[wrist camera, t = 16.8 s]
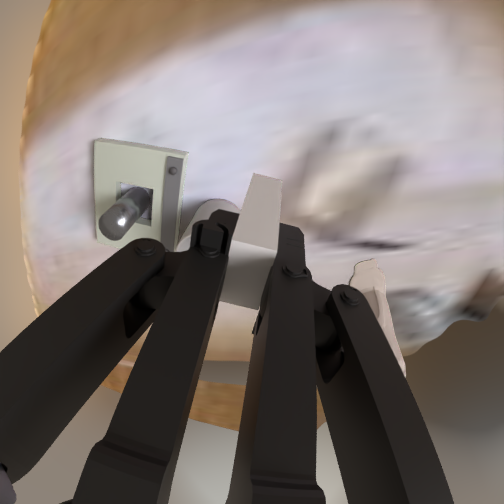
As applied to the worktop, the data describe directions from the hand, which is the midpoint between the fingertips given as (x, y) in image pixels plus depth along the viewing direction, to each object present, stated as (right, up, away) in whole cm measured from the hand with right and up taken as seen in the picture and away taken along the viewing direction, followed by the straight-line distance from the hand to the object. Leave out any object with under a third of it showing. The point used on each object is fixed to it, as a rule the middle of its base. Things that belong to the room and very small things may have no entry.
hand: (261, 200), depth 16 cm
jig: (-20, +6, +34) cm, 40 cm away
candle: (+21, -10, +39) cm, 46 cm away
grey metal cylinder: (-20, +6, +34) cm, 40 cm away
